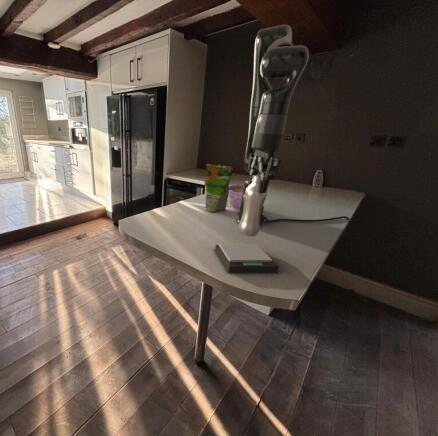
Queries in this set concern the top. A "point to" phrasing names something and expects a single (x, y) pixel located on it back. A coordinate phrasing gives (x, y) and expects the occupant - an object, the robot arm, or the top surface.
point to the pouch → (217, 187)
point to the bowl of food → (236, 196)
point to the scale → (245, 258)
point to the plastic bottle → (252, 209)
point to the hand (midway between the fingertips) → (256, 189)
